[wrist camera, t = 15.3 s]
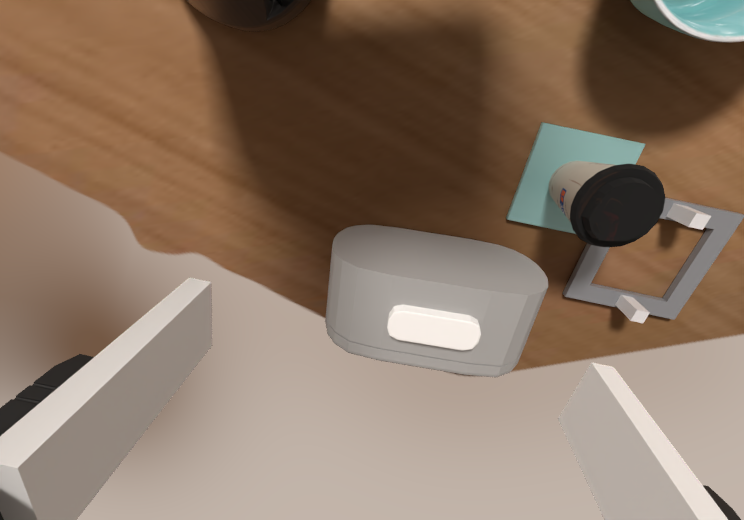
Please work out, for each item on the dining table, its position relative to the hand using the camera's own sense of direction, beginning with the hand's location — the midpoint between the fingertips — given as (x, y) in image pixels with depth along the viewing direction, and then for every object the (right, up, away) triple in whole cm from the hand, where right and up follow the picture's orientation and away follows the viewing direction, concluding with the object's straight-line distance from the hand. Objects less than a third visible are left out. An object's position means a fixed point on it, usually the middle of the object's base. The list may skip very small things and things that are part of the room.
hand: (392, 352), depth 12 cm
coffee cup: (+20, +11, +24) cm, 33 cm away
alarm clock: (+6, +2, +30) cm, 31 cm away
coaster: (+20, +11, +25) cm, 33 cm away
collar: (+29, +4, +27) cm, 40 cm away
